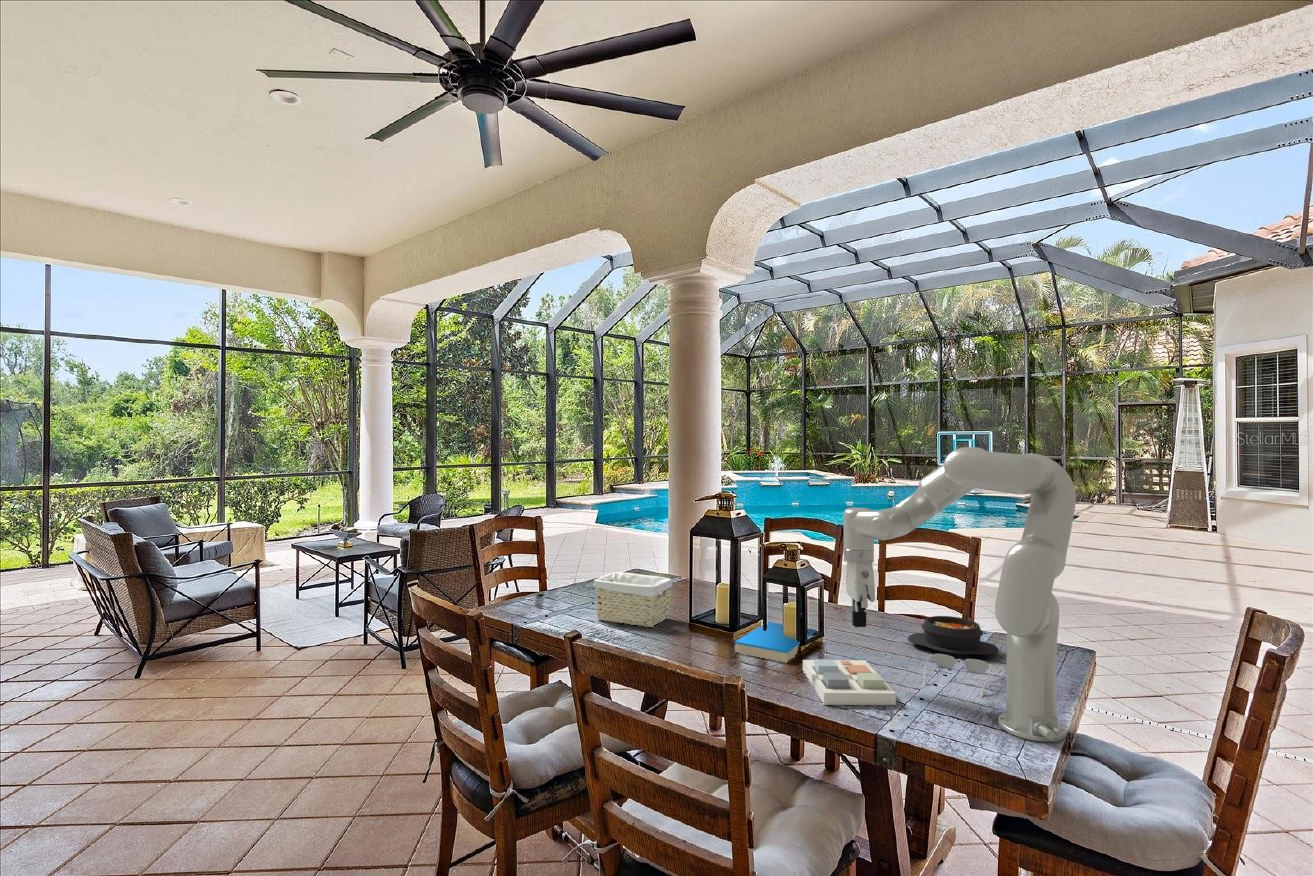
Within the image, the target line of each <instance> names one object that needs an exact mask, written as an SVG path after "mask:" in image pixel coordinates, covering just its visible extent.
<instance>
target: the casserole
mask: <svg viewBox="0 0 1313 876" xmlns="http://www.w3.org/2000/svg"><path fill="white" fill-rule="evenodd" d="M921 628H922V630H923V632H916V633H912V634H910V635H909V636H908V637H907V640H908V641H909V642H910V643H911V644H914V645H917V646H920V647H925V648H928V649H931V650H933V651H935V652H938V653H940V654H944V655H948V656H970V655H979V656H992V655H995V654H997V653H998V652H999V651H1000V650H999V648H998V647H997V646H996V645H995V644H992V643H990V642H987V641H982V640H981V637H982V636H983V635H984V631H983V630H982V629H981V626H980V625H979V623H978V622H975V620H971V619H968V618H967V619H966V618H963V617H959V616H949V615H934V616H933V615H932V616H927V617H926V618H925V619H924V622H923V623H922V624H921Z"/></svg>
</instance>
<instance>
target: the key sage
mask: <svg viewBox="0 0 1313 876" xmlns="http://www.w3.org/2000/svg"><path fill="white" fill-rule="evenodd" d="M884 681H885V680H884V678H883V677H882V676H881V675H880V674H879V673H878V672H877V673H857V683H858V684H859V686H860V687H861V688H862V689H884Z"/></svg>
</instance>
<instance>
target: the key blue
mask: <svg viewBox="0 0 1313 876" xmlns="http://www.w3.org/2000/svg"><path fill="white" fill-rule="evenodd" d="M813 660H814V670H815V671H816V673H817V674H818V675H823V672H838V665H837V664H836V663H835V661H834V660H835V659H821V658H820V659H813Z"/></svg>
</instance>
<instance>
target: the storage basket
mask: <svg viewBox="0 0 1313 876" xmlns="http://www.w3.org/2000/svg"><path fill="white" fill-rule="evenodd" d="M593 581H594V582H593V588H594V593H595V594H594V595H595V604H596V605H595V606H596V615H597V616H596V617H597V620H599V621H602V620H603V621H604V622H610V623H615V624H622V623H624V625H627V624H631V625H638V626H637V627H642V626H644V627H643V628H648V627H653V626H654V625H655V624H656V623H660V621H661V620H662V619H663V618H665V617H668V618H669V613H670V602H671V588H672V587H673V580H672V578H669V577H664V576H657V575H649V574H648V575H646V574H641V573H640V574H639V573H633V572H632V573H631V572H623V571H622V572H617V571H614V572H612V573H608V574H606V575H603V576H601V577H598V578H595V579H594V580H593ZM625 623H626V624H625ZM660 624H661V623H660ZM631 625H630V626H631ZM653 628H654V627H653Z"/></svg>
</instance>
